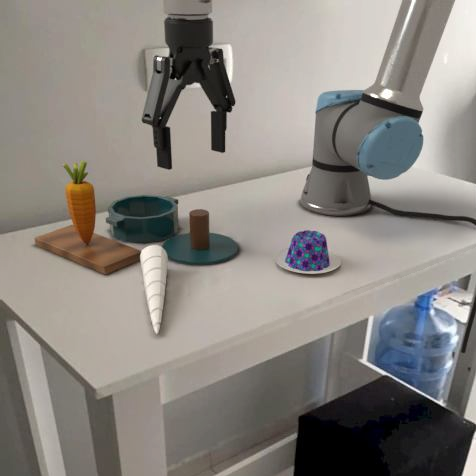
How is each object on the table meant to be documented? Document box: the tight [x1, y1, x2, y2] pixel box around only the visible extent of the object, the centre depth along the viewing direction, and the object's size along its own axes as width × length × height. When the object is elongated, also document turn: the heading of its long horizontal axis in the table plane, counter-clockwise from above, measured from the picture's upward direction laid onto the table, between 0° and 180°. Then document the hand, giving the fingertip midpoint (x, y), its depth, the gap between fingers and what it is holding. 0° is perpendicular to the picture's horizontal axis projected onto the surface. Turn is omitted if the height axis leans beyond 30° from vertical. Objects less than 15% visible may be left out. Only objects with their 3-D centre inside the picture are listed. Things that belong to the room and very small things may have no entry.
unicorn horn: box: [139, 244, 169, 335], centre depth 101 cm, size 5×24×5 cm, turn 3°
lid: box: [161, 208, 239, 266], centre depth 117 cm, size 14×14×7 cm
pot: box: [105, 194, 180, 244], centre depth 126 cm, size 13×17×5 cm
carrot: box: [62, 160, 97, 245], centre depth 113 cm, size 5×5×15 cm
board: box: [33, 224, 142, 276], centre depth 117 cm, size 20×9×2 cm, turn 51°
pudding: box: [274, 229, 342, 275], centre depth 113 cm, size 12×12×5 cm
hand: (192, 159), depth 110 cm, fingers open, 13 cm apart
